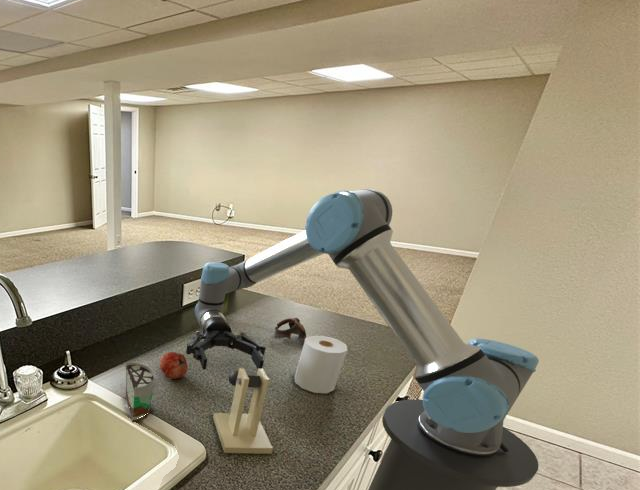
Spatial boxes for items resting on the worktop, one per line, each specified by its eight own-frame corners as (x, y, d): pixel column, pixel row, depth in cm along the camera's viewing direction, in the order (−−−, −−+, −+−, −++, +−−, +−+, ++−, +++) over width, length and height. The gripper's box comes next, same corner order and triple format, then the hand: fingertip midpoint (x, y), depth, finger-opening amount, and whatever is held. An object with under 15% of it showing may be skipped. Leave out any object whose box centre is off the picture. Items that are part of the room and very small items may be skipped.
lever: (226, 385, 95) (227, 370, 95) (241, 385, 95) (242, 370, 95) (245, 390, 81) (246, 372, 81) (263, 390, 81) (263, 372, 81)
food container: (159, 424, 91) (163, 387, 86) (133, 426, 90) (135, 389, 85) (148, 394, 102) (151, 360, 97) (124, 396, 101) (125, 361, 96)
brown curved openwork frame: (306, 350, 127) (298, 329, 124) (276, 354, 133) (268, 335, 130) (311, 328, 135) (304, 308, 131) (283, 333, 141) (275, 314, 137)
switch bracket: (213, 418, 94) (223, 358, 86) (255, 419, 94) (269, 360, 86) (224, 452, 84) (236, 389, 76) (271, 453, 84) (289, 390, 76)
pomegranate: (154, 382, 111) (170, 377, 102) (151, 356, 112) (167, 348, 103) (178, 380, 114) (196, 375, 105) (175, 355, 115) (192, 348, 106)
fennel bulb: (226, 318, 147) (231, 287, 141) (219, 322, 144) (224, 290, 138) (213, 314, 151) (217, 283, 145) (205, 317, 147) (209, 285, 141)
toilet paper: (292, 387, 107) (303, 347, 101) (296, 370, 115) (306, 332, 109) (333, 397, 103) (347, 356, 97) (334, 379, 111) (347, 340, 105)
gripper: (256, 341, 117) (281, 379, 98) (170, 339, 116) (179, 377, 98) (261, 317, 113) (288, 352, 95) (173, 315, 112) (182, 350, 94)
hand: (233, 365), depth 96 cm, fingers open, 13 cm apart
